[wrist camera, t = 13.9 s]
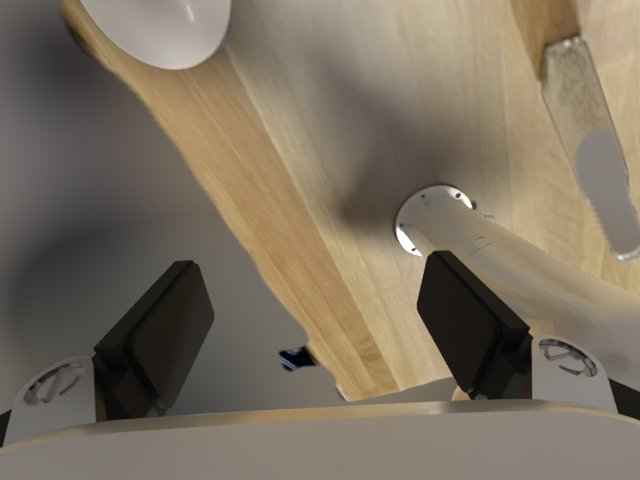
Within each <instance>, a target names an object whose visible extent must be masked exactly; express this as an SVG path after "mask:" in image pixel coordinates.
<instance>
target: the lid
mask: <svg viewBox="0 0 640 480" xmlns="http://www.w3.org/2000/svg"><path fill="white" fill-rule="evenodd" d="M80 1H81V3H82V4H83V6H84V8H85V9H86V11H87V12H88V14H89V15H90V17H91V18H92V19H93V21H94V22H95V23H96V25H97V26H98V27H99V28H100V29H101V30H102V32H103V33H104V34H105V35H106V36H107V37H108V38H109V39H110V40H111V41H112V42H113V43H115V44H116V45H117V46H118V47H119V48H121V49H122V50H123V51H125V52H126V53H128V54H129V55H131V56H132V57H134V58H136V59H138V60H140V61H142V62H144V63H147V64H150V65H152V66H155V67H159V68H162V69H168V70H184V69H189V68H193V67H195V66H197V65H199V64H201V63H203V62H204V61H206V60H207V59H208V58H210V56H211V55H212V54H213V53H214V52H215V51H216V50H217V48H218V47H219V45H220V44H221V42H222V40H223V38H224V36H225V33H226V30H227V27H228V23H229V19H230V13H231V3H232V0H80Z"/></svg>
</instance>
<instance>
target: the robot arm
mask: <svg viewBox="0 0 640 480" xmlns="http://www.w3.org/2000/svg"><path fill="white" fill-rule="evenodd" d="M421 195H422V196H421ZM494 221H495V218H494V216H493V215H483V216H482V215H481V214H479V213H477V212H475V211H474V210H473V208H472V204H471V201H470V200H469V198H468V197H467V196H466V195H465V194H464V193H463V192H462V191H460V190H458V189H456V188H454V187H451V186H446V185H436V186H431V187H427V188H425V189H422V190H420V191H419V192H417V193H415V194H414V195H413V196H411V197H410V198H409V199H408V200H407V201H406V202H405V203H404V205H403V206H402V207H401V209H400V211H399V213H398V215H397V218H396V222H395V233H396V237H397V239H398V241H399V243H400V244H401V245H402V247H403V248H405V249H406V250H407V251H408V252H410V253H412V254H415V255H419V256H422V257H423V258H424V259H425V260H426V265H425V270H424V274H423V278H422V283H421V287H420V292H419V296H418V301H417V310H418V313H419V315H420V317H421V318H422V320H423V322H424V324H425V326H426V327H427V329H428V331H429V333H430V335H431V337H432V338H433V340H434V342H435V344H436V346H437V347H438V349H439V351H440V353H441V355H442V356H443V358H444V360H445V362H446V364H447V365H448V367H449V369H450V371H451V373H452V375H453V376H454V378H455V380H456V382H457V384H458V385H459V386H458V387H457V389H456V390H455V392H454V394H453V397H452V401H439V402H418V403H397V404H376V405H357V406H339V407H318V408H301V409H282V410H263V411H246V412H231V413H230V412H229V413H212V414H195V415H180V416H164V415H165V413H166V411H167V409H168V408H171V407H172V406H173V405H174V403H175V401H176V399H177V397H178V395H179V393H180V390H181V388H182V386H183V384H184V382H185V380H186V378H187V375H188V374H189V371H190V369H191V367H192V365H193V363H194V361H195V359H196V357H197V355H198V352H199V350H200V348H201V346H202V344H203V342H204V340H205V338H206V336H207V334H208V332H209V329H210V327H211V325H212V323H213V321H214V311H213V308H212V305H211V302H210V299H209V296H208V293H207V289H206V286H205V283H204V280H203V277H202V274H201V271H200V268H199V265H198V264H195V263H194V262H193V261H192V260H185V261H175V262H174V263H173V264H172V265H171V266H170V267H169V268H168V269H167V270H166V272H165V273H164V274H163V275H162V276H161V277H160V278H159V279H158V280H157V281H156V282H155V284H153V285H152V286H151V287H150V289H149V290H148V291H147V292H146V293H145V294H144V295H143V296H142V297H141V298H140V299H139V300H138V301H137V302H136V303H135V304H134V306H133V307H132V308H131V309H130V310H129V311H128V312H127V313H126V314H125V315H124V316H123V317H122V318H121V319H120V320H119V321H118V323H117V324H116V325H115V326H114V327H113V328H112V329H111V330H110V331H109V332H108V333H107V334H106V335H105V336H104V337H103V339H102V340H101V341H100V342H99V343H98V344H97V345H96V346H95V347H94V348H93V349H94V350H95V352H96V354H95V355H94V356H93V357H92V358H91V359H90V358H88V357H74V358H69V359H67V360H64V361H62V362H59V363H57V364H55V365H53V366H51V367H49V368H48V369H46V370H44V371H43V372H42V373H40V374H38V375H37V376H35V377H34V378H33V379H32V380H31V381H30V382H29V383H27V384H26V385H25V386H24V387H23V389H22V390H21V391H20V392H19V393H18V395H17V397H16V399H15V401H14V403H13V407H12V409H11V410H9V411H7V412H5V413H3V414H1V415H0V480H640V296H639V295H637V294H635V293H632V292H630V291H627V290H625V289H622V288H620V287H618V286H615V285H613V284H610V283H608V282H606V281H604V280H602V279H599V278H597V277H595V276H593V275H591V274H588V273H586V272H584V271H582V270H580V269H578V268H576V267H574V266H572V265H570V264H568V263H566V262H564V261H562V260H561V259H559V258H557V257H555V256H553V255H551V254H549V253H547V252H546V251H544V250H542V249H540V248H538V247H537V246H535V245H533V244H531V243H530V242H528V241H526V240H524V239H523V238H521V237H519V236H517V235H516V234H514V233H512V232H510V231H509V230H507V229H505V228H503V227H501V226H500V225H498V224H496V223H494ZM400 223H401V224H400Z"/></svg>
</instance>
